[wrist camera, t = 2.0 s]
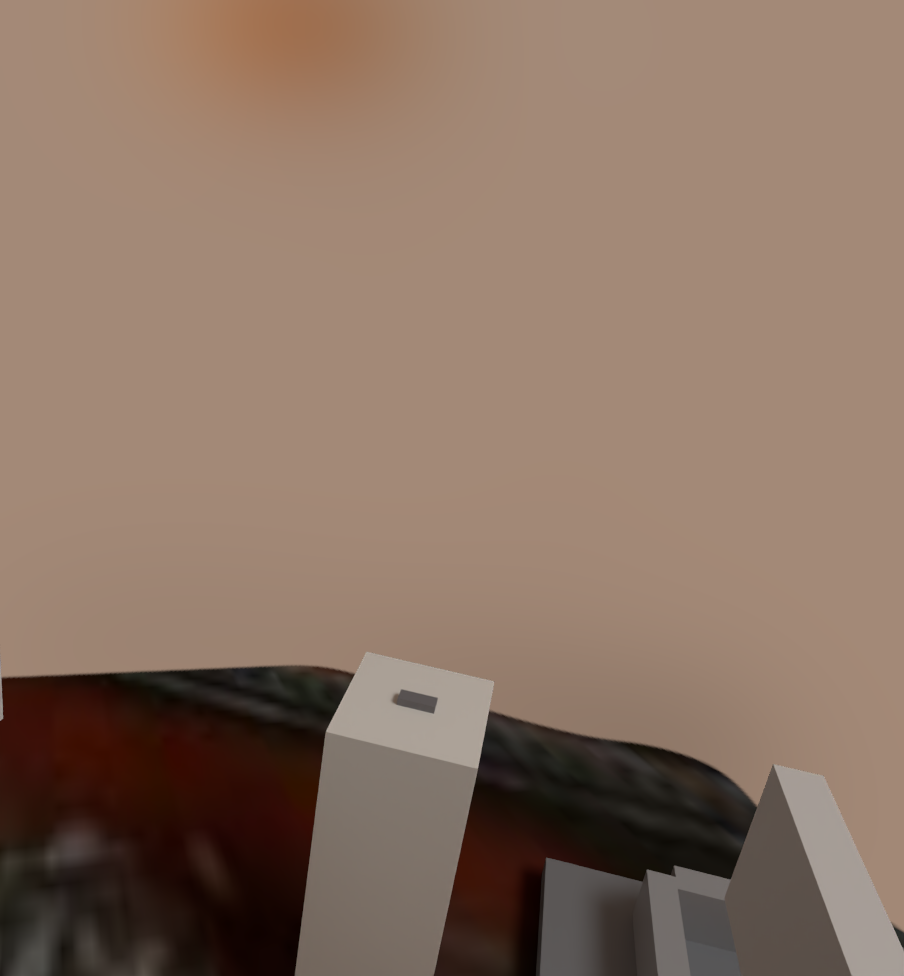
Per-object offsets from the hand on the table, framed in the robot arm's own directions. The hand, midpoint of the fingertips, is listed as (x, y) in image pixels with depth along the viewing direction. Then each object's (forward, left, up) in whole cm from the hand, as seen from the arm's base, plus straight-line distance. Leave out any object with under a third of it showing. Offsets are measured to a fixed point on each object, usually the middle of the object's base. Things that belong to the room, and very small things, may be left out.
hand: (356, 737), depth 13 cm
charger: (-4, +9, -19) cm, 22 cm away
